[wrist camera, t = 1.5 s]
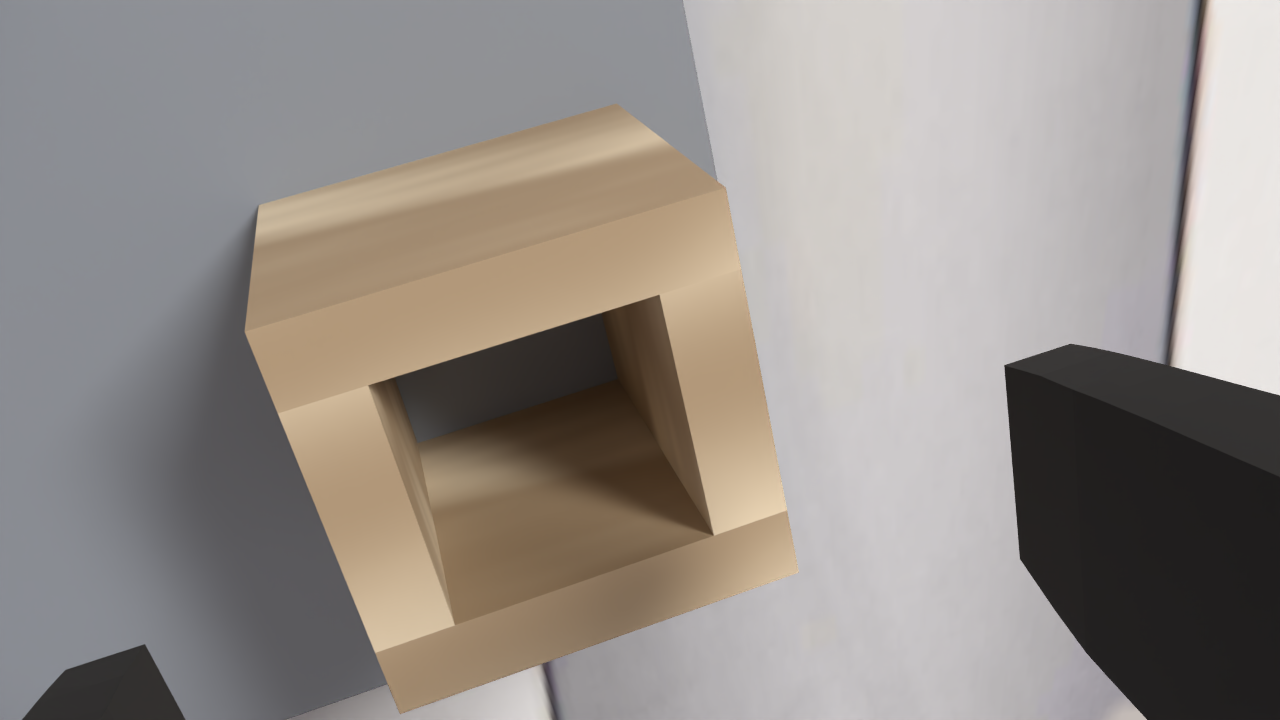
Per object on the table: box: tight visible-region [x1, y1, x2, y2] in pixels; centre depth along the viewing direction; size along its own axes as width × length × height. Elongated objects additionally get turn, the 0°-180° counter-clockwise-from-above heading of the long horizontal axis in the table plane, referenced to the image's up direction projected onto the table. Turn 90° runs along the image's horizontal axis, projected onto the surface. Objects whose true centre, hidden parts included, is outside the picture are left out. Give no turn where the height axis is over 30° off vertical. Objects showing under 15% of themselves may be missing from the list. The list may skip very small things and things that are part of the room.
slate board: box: [0, 0, 717, 720], centre depth 16 cm, size 20×14×1 cm
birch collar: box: [245, 104, 799, 714], centre depth 16 cm, size 5×5×5 cm
